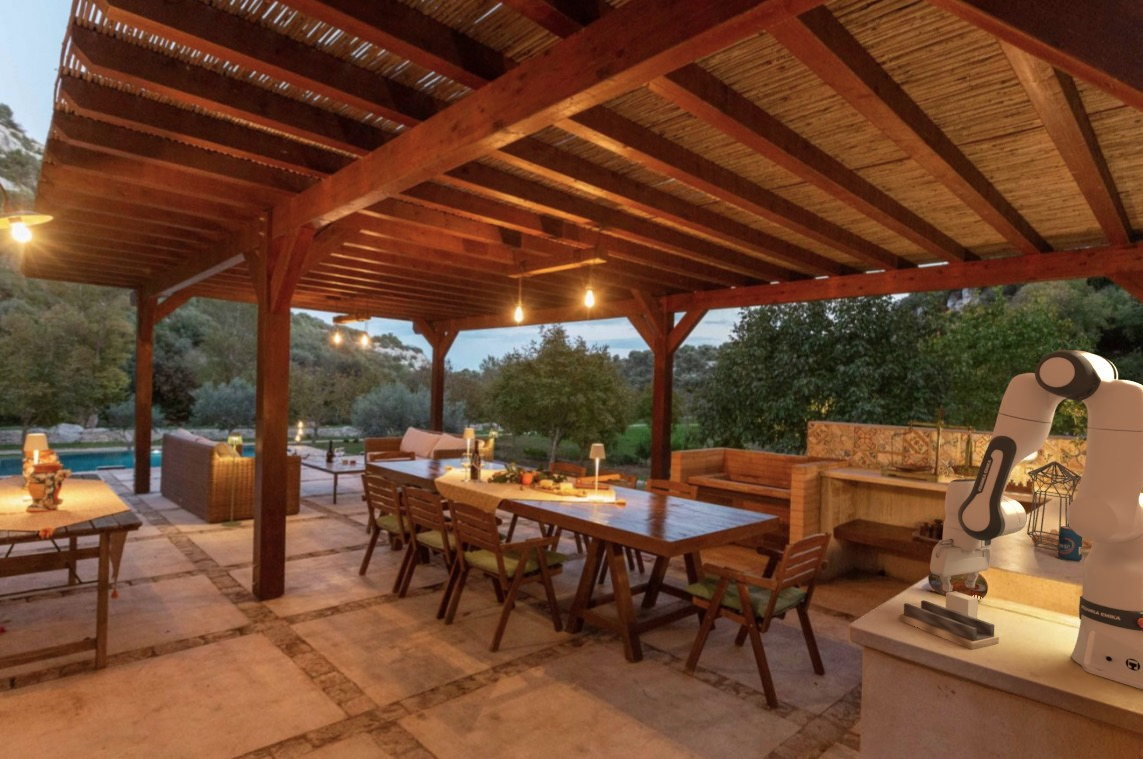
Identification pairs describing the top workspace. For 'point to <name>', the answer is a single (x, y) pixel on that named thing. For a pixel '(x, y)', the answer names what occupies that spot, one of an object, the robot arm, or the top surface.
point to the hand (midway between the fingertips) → (958, 589)
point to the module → (962, 603)
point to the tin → (960, 585)
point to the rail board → (950, 625)
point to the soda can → (1069, 545)
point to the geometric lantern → (1035, 473)
